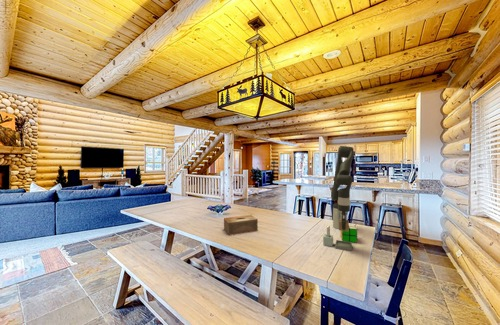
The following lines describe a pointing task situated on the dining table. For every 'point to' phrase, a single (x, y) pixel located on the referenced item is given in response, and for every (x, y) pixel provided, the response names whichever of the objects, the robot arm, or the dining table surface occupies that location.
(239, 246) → the dining table surface
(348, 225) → the brown cardboard cube
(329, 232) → the cylinder
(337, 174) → the robot arm
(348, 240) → the puzzle cube
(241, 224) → the tissue box cover
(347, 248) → the tray
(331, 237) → the slate block
